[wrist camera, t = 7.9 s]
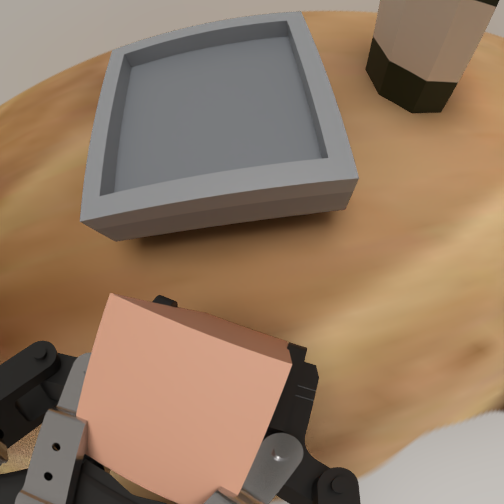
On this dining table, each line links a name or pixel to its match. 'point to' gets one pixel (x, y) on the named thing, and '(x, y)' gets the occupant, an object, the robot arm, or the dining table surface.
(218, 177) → the grey square tray
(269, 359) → the terracotta block
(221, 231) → the dining table surface
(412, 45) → the wine bottle
